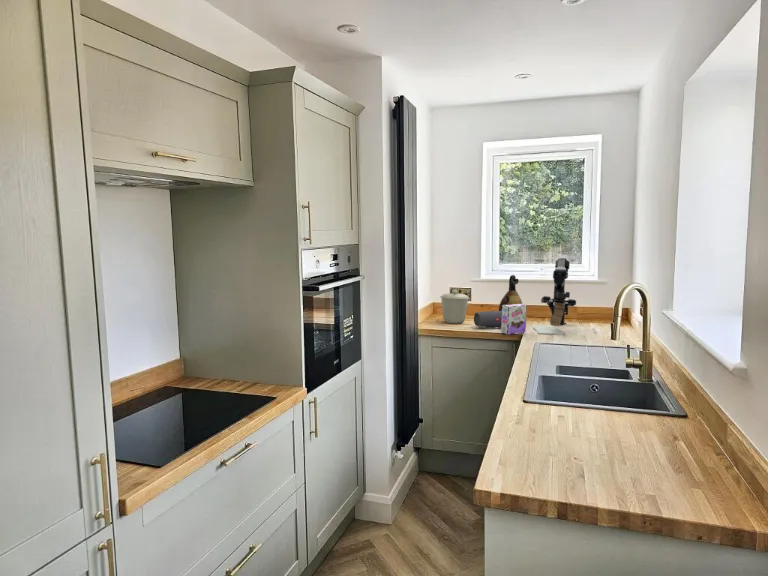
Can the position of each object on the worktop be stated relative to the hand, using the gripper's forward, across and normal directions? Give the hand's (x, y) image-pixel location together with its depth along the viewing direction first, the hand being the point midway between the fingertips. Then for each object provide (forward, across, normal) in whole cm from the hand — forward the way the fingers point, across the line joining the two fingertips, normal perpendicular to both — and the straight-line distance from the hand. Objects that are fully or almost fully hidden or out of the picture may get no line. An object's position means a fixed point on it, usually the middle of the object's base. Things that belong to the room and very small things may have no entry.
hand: (557, 315), depth 304 cm
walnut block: (+4, 0, +6) cm, 7 cm away
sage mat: (+8, -3, +8) cm, 12 cm away
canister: (+6, -57, +29) cm, 64 cm away
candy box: (+14, -24, 0) cm, 28 cm away
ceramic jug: (-1, -21, +38) cm, 43 cm away
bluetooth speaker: (+9, -34, +15) cm, 38 cm away
